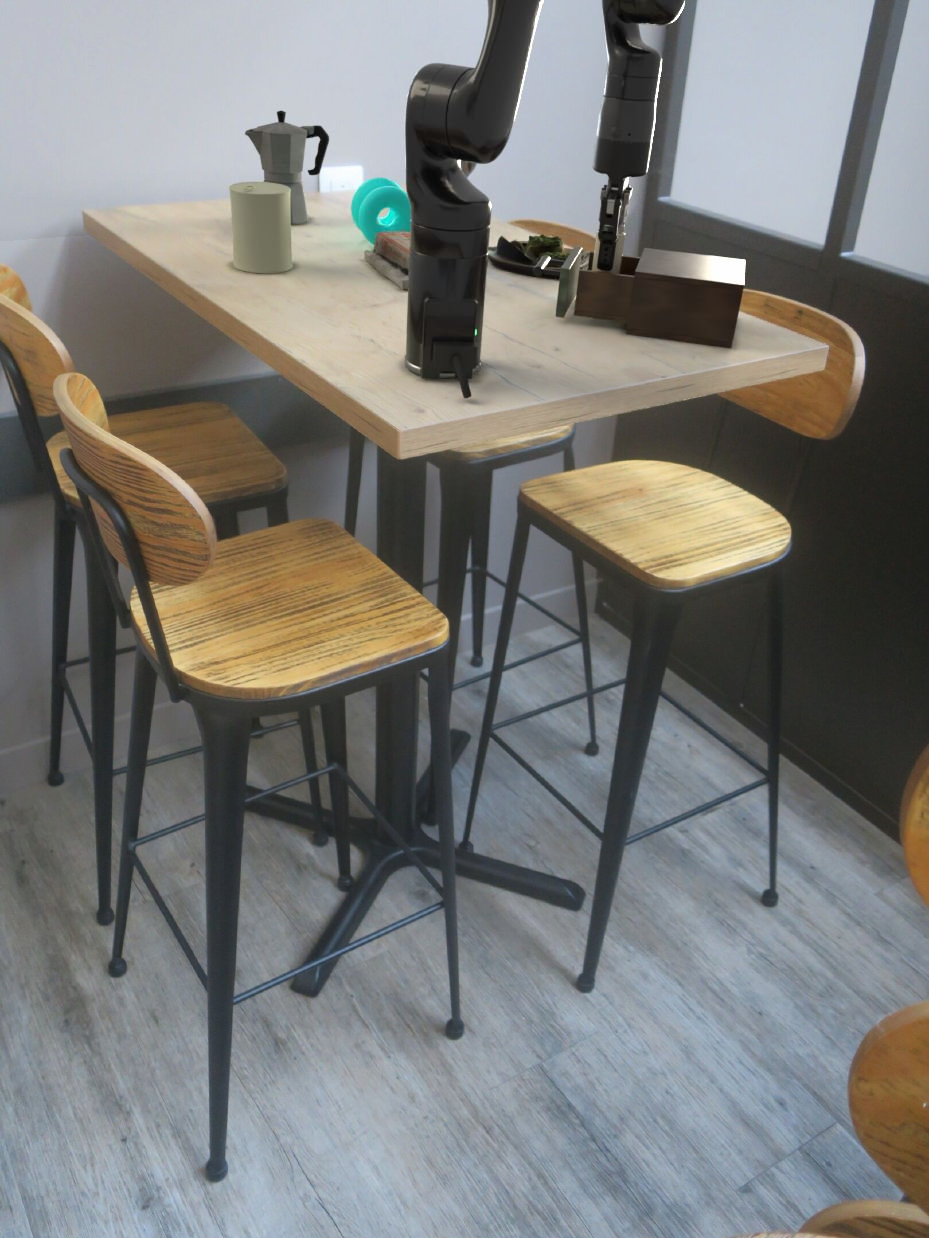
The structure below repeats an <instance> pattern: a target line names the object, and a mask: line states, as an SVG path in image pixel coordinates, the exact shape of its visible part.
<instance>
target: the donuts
mask: <svg viewBox="0 0 929 1238" xmlns="http://www.w3.org/2000/svg"><path fill="white" fill-rule="evenodd" d="M350 204H351V205H350V212H351V217H352V220H353V222H354V224H355V226H356V228H357V229H358V230H359V231H360V232H361V233H362V235H363V237H364V238H365V240H367V242H368V243H370V244H371V245H373V246H374V243H375V237H376V233H379V232H392V231H394V232H396V231H406V232H409V233H410V229H411V206H410V202H409V199H408V195H407V191H405V190H404V189H403V188H402V187H401V186H400V185H399V184H398V183H396V182H395V181H394V180H392V179H390V178H386V177H373V178H370V179H368V180H366V181H364V182H363V183H361V184H360V185H359V186H358V187H357V189H356V191H355V192H354V194H353V196H352V199H351V203H350ZM384 209H388V212H387V214H386V215H385V216H384V217H380V213H381V212H382V211H383V210H384Z"/></svg>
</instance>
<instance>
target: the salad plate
mask: <svg viewBox="0 0 929 1238" xmlns="http://www.w3.org/2000/svg"><path fill="white" fill-rule="evenodd" d="M572 250H573V248H568V247H565V245H564V241H563V237H560V236H559V235H556V236H554V234H549V235H548V236H546V235H545V234H544V233H541V234H540V235H529V236H528V240H515V239H514V240H511V241H510V240H508V239H507V238H506V237H505V236H504V235H501V236H500V237H498V240H497V243H496V246H489V250H488V261H489V262H490V264H491V265H492V266H493V267H494V268H496V269H499V270H501V271H505V272H510V273H515V274H519V275H523V276H529V277H535V278H543V279H560V276H556V275H549V274H543V273H542V275H541V276H535V275H534V273H533V269H534V268H535V266H536V265H537V263H538V262H539V261H540V259H541V258H542V257H543V256H544V255H547V256H549V257H550V259H555V260H563V261H566V259H567V258H568V256H569V255H570V253H571V252H572ZM589 254H590V251H587V250H584V249H582V255H581V263H580V269H583V270H585V269H586V268H588V262H589ZM561 267H562V265H554V264H550V263H549V265H548V266H547V268H546V269H550V270H558V271H561Z"/></svg>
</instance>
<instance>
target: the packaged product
mask: <svg viewBox="0 0 929 1238" xmlns="http://www.w3.org/2000/svg"><path fill="white" fill-rule="evenodd" d="M409 253H410V233H409V232H406V231H396V232H394V231H392V232H379V233H376V237H375V243H374V245H373V250H369V249H366V250H364V251H363V255H364V257H363V258H364V260H365V261H366V262H367V263H369V264H370V265H371V266H372V267H373V268H375V269H376V271H377V272H378V273H379V274H380V275H381V276H383V277H386V278H387V279H388V280H390V281H391V282H392V283H394V284H395V285H396V286H398V287H399V288H400V289H401V290H408V280H409Z"/></svg>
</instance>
